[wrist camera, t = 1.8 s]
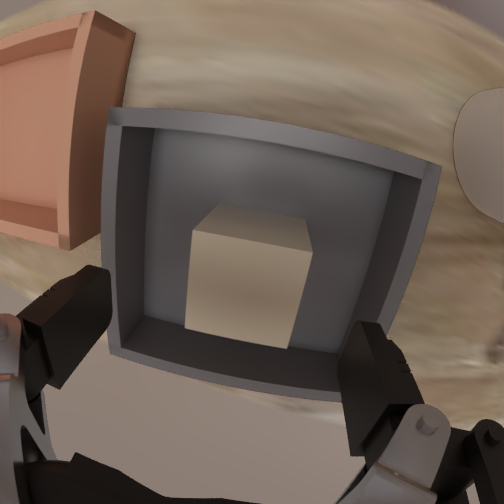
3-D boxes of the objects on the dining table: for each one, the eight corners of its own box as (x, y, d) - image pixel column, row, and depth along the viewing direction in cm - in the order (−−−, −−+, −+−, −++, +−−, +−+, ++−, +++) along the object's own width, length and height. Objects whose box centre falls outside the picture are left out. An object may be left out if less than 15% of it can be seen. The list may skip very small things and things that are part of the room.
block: (305, 219, 15) (312, 252, 11) (287, 295, 17) (286, 348, 13) (219, 203, 16) (192, 229, 11) (209, 280, 17) (184, 328, 13)
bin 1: (135, 33, 13) (95, 10, 9) (112, 225, 18) (70, 251, 14) (-3, 62, 14) (-43, 59, 10) (-13, 201, 18) (-51, 216, 14)
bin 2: (404, 157, 15) (442, 166, 10) (342, 354, 19) (352, 403, 15) (151, 112, 15) (109, 107, 11) (139, 314, 20) (110, 353, 16)
